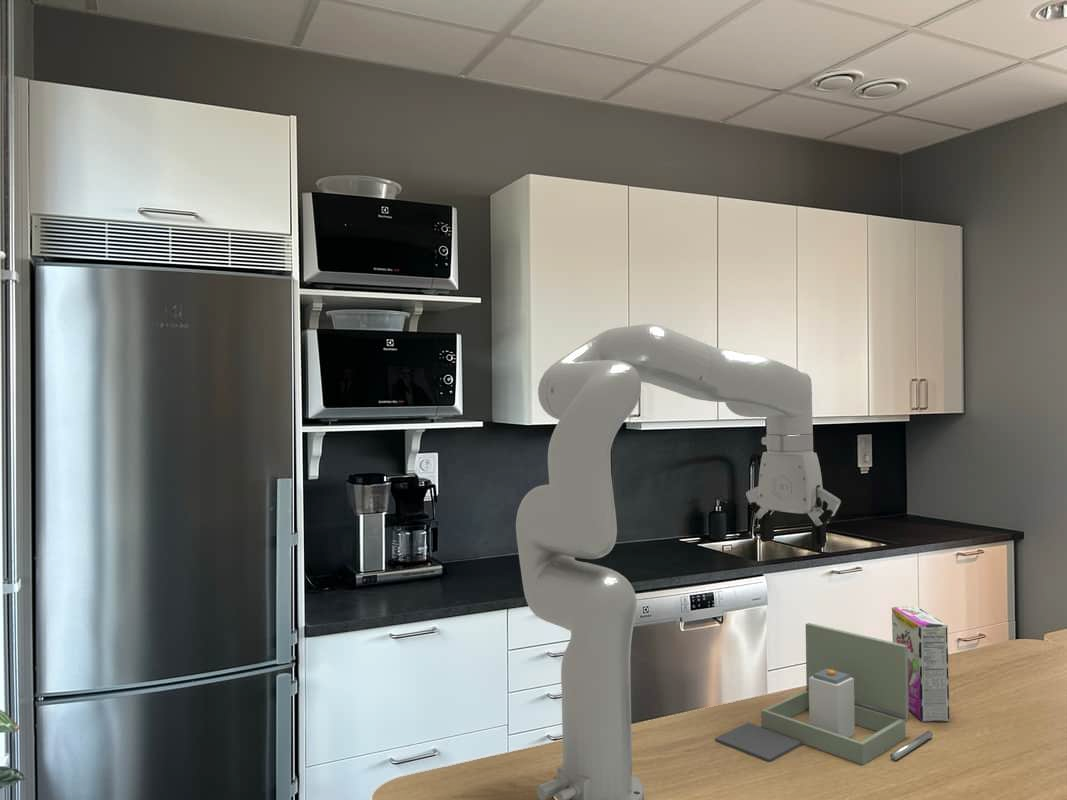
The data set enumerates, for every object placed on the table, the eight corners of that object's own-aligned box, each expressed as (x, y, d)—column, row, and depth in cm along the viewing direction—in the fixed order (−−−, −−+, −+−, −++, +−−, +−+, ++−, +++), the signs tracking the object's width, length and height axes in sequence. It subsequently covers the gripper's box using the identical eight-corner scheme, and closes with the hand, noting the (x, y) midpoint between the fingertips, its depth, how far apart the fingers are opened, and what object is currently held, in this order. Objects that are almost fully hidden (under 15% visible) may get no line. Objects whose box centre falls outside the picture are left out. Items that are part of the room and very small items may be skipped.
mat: (769, 762, 119) (769, 759, 119) (714, 740, 127) (714, 738, 127) (802, 744, 125) (802, 741, 125) (748, 724, 133) (748, 722, 133)
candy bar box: (891, 697, 143) (890, 606, 143) (919, 697, 143) (918, 605, 143) (920, 723, 132) (918, 624, 132) (951, 722, 132) (949, 623, 132)
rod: (896, 761, 119) (896, 754, 119) (890, 759, 119) (890, 752, 119) (932, 738, 126) (932, 731, 126) (926, 736, 127) (926, 729, 127)
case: (862, 764, 118) (861, 666, 118) (761, 728, 131) (760, 640, 131) (909, 735, 127) (908, 645, 127) (810, 704, 141) (809, 622, 141)
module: (838, 743, 125) (837, 678, 125) (809, 733, 129) (808, 670, 129) (854, 734, 128) (853, 670, 128) (826, 724, 132) (825, 663, 132)
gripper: (734, 444, 141) (736, 541, 141) (825, 448, 128) (828, 554, 128) (758, 441, 146) (760, 535, 146) (849, 444, 133) (851, 547, 133)
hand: (792, 544), depth 137 cm, fingers open, 9 cm apart
